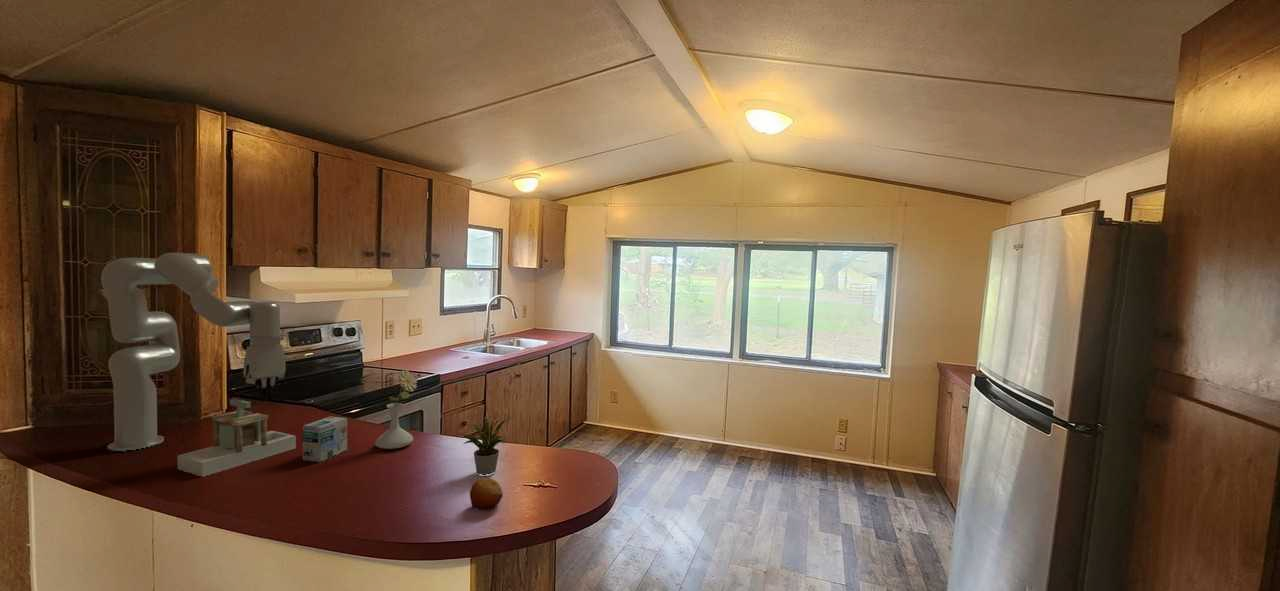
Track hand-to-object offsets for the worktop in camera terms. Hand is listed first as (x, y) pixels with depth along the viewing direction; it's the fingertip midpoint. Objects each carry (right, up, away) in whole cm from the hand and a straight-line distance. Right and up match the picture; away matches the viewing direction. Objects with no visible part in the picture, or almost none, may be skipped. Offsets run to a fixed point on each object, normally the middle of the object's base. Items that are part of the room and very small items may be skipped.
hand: (266, 399), depth 154 cm
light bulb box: (+20, -18, -2) cm, 27 cm away
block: (-3, -13, -6) cm, 14 cm away
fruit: (+80, -20, -32) cm, 88 cm away
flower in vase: (+37, -18, +9) cm, 42 cm away
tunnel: (-3, -13, -6) cm, 14 cm away
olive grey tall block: (-3, -12, -6) cm, 14 cm away
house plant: (+73, -19, -10) cm, 77 cm away
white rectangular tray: (-3, -17, -6) cm, 18 cm away
